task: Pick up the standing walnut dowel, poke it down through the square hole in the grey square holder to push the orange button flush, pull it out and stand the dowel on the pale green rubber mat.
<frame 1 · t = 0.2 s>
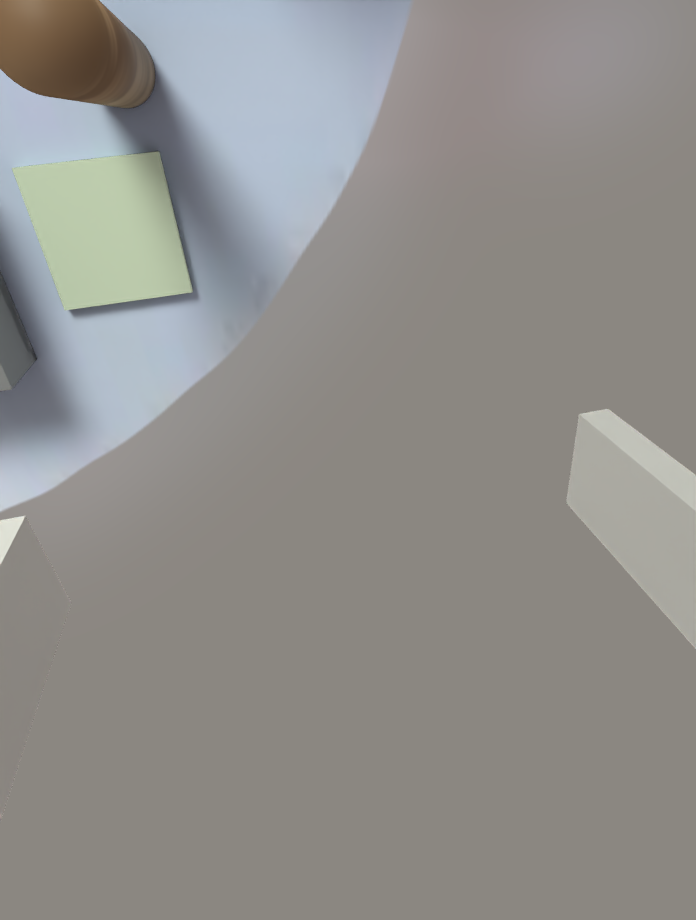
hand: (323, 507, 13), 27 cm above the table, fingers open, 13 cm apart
mat: (110, 233, 34), on the table
walnut dowel: (120, 68, 30), on the table
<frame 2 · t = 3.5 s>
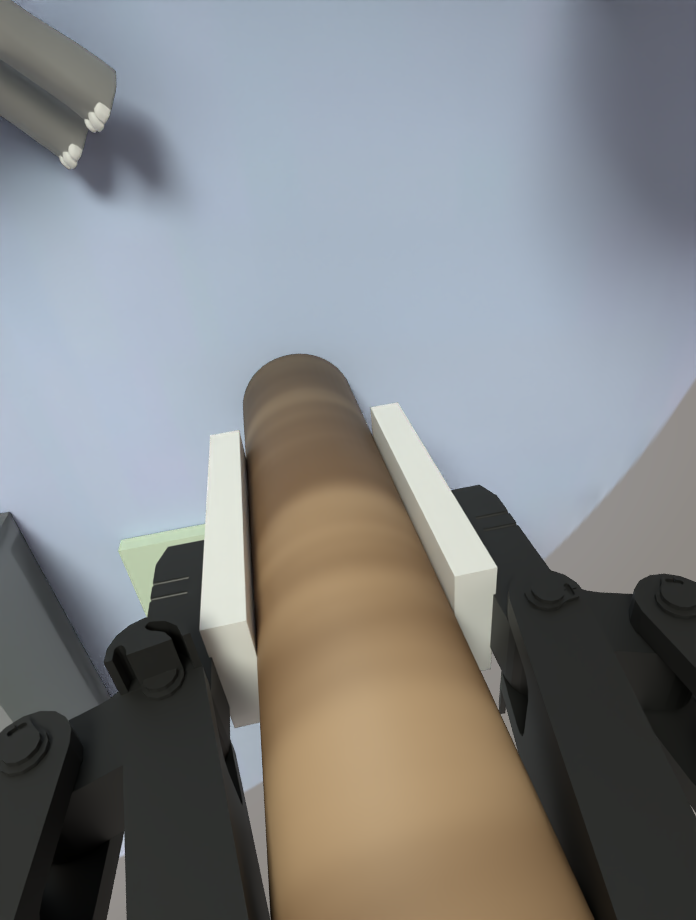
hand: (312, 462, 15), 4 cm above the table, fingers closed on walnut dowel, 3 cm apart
mat: (254, 595, 22), on the table
walnut dowel: (298, 405, 18), on the table, touching gripper
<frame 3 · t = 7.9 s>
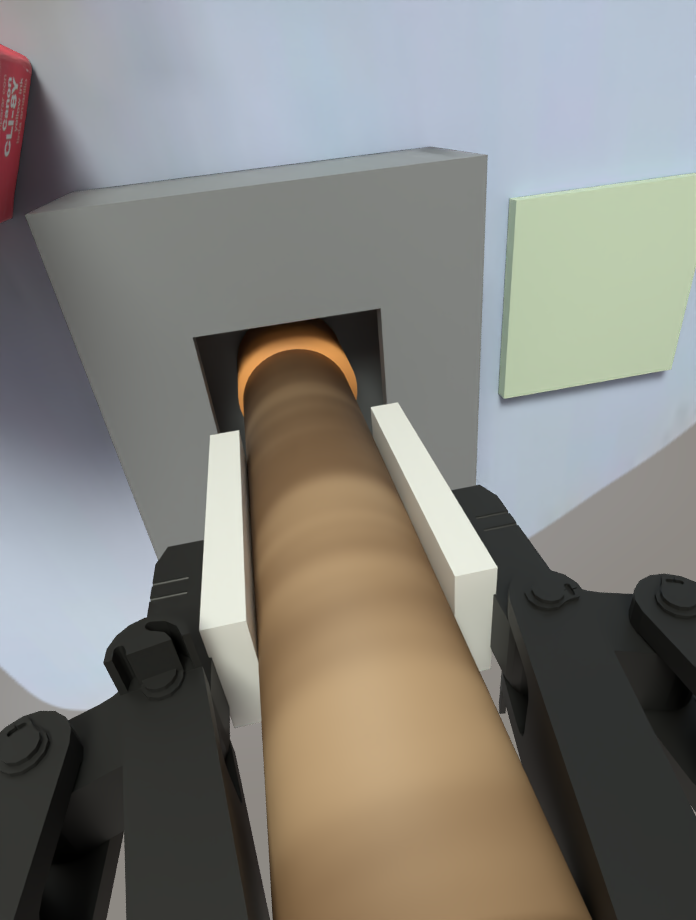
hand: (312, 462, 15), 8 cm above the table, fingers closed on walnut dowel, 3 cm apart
mat: (594, 290, 23), on the table
grey square holder: (287, 351, 22), on the table
walnut dowel: (297, 399, 19), point 4 cm above the table, touching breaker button, gripper
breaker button: (294, 377, 20), point 3 cm above the table, slide at -2.4 cm, touching walnut dowel
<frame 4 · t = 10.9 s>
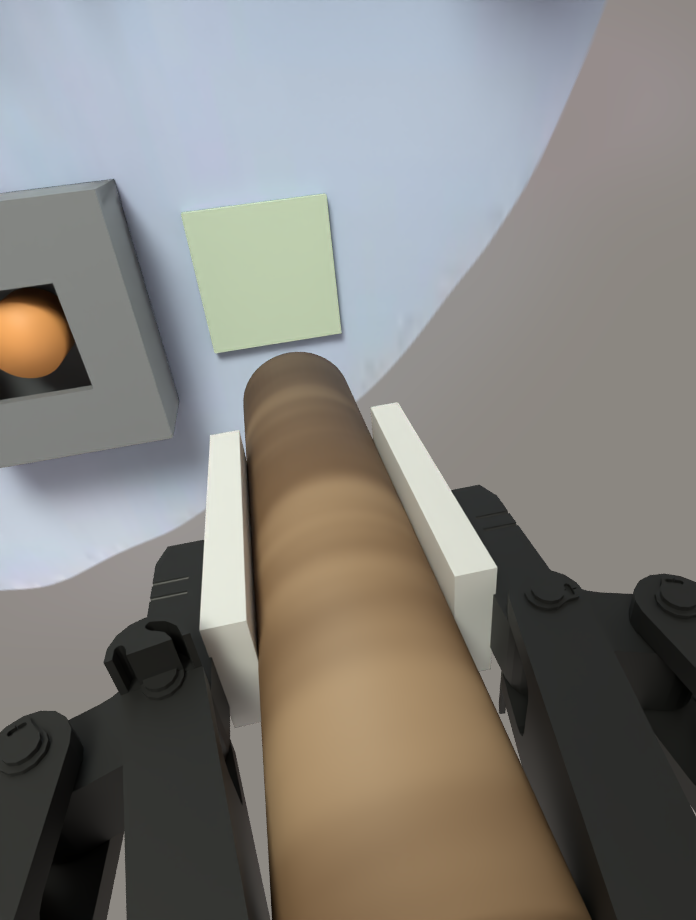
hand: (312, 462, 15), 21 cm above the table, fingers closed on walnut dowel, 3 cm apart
mat: (266, 275, 33), on the table
grey square holder: (44, 317, 32), on the table
walnut dowel: (297, 402, 19), point 17 cm above the table, touching gripper
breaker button: (30, 332, 29), point 3 cm above the table, slide at -2.4 cm
when the fingers open (5 cm above the table, at t = 13.3 s): walnut dowel stays where it is, resting on mat.
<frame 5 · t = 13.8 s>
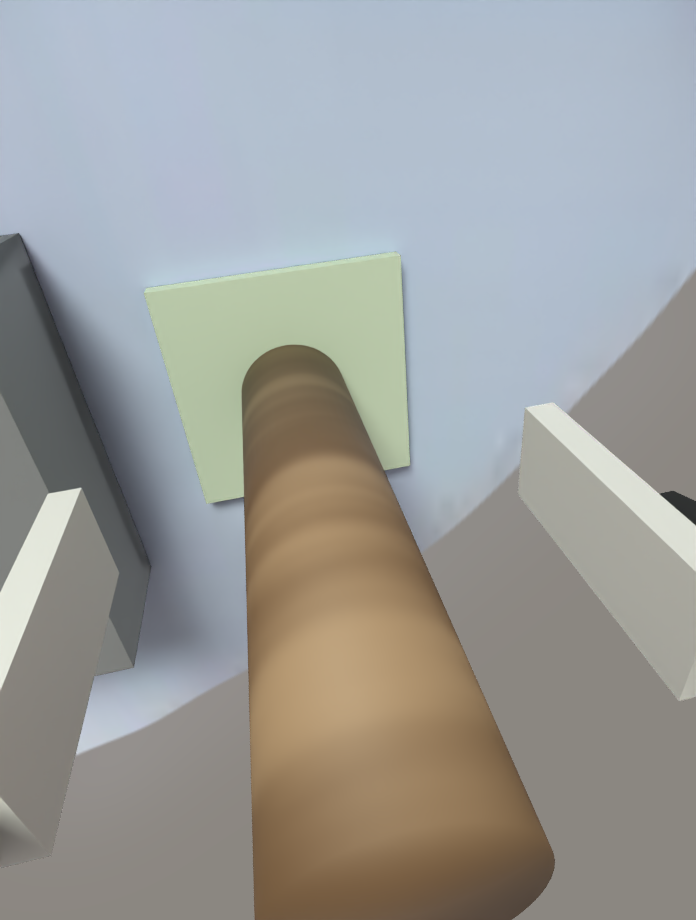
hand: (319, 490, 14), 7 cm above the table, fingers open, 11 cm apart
mat: (293, 384, 20), on the table
walnut dowel: (293, 394, 19), point 1 cm above the table, touching mat
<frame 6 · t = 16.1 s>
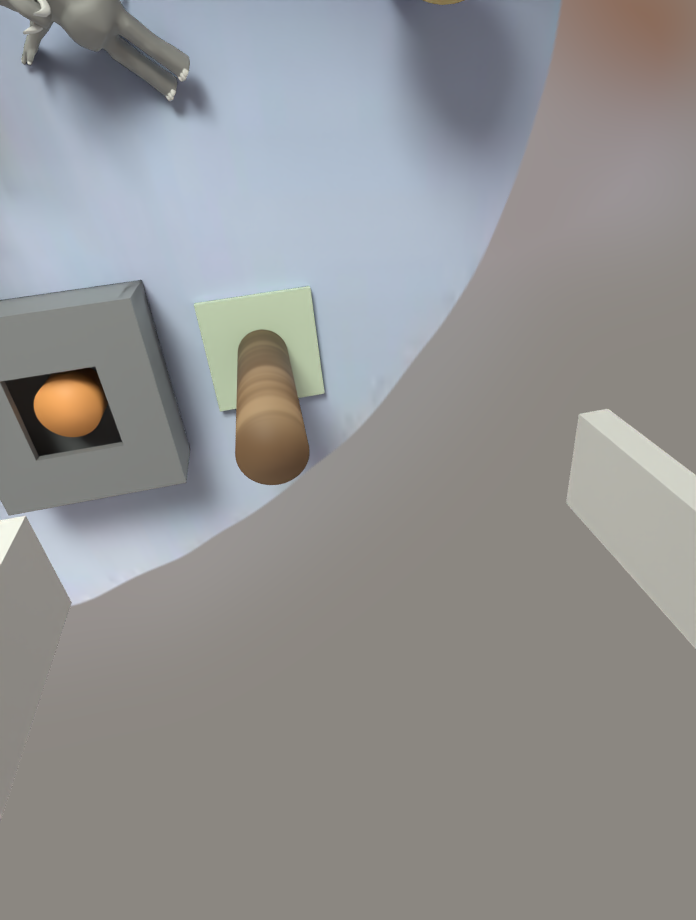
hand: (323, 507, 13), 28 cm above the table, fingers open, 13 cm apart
mat: (262, 349, 40), on the table
grey square holder: (82, 385, 39), on the table
walnut dowel: (263, 354, 40), point 1 cm above the table, touching mat
elephant figurine: (106, 16, 30), on the table
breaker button: (73, 400, 37), point 3 cm above the table, slide at -2.4 cm
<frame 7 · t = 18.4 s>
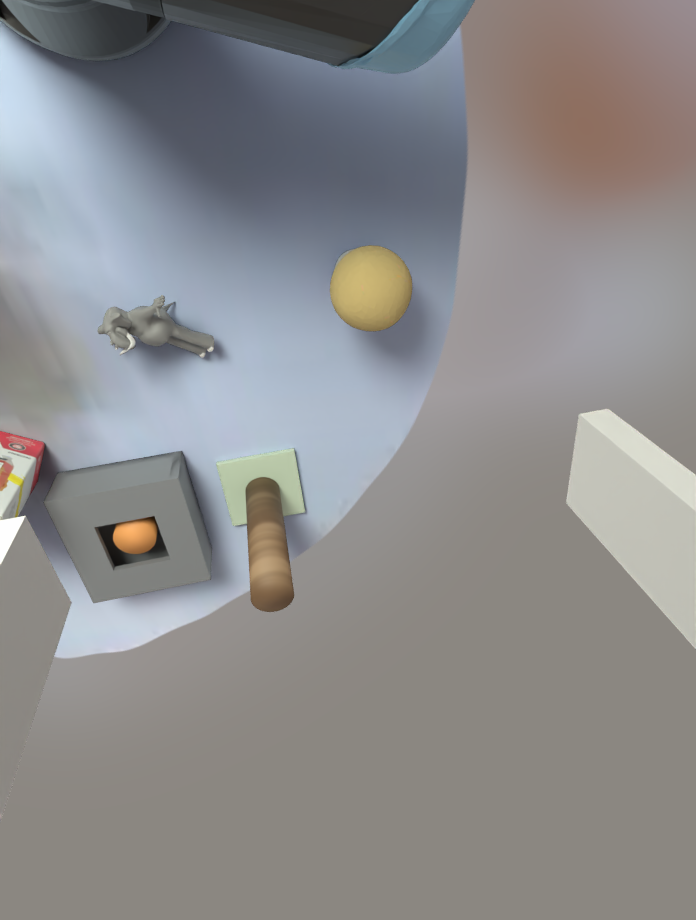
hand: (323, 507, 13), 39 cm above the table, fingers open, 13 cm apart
mat: (262, 486, 59), on the table
grey square holder: (140, 513, 58), on the table
walnut dowel: (262, 491, 58), point 1 cm above the table, touching mat
elephant figurine: (162, 313, 48), on the table
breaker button: (136, 529, 55), point 3 cm above the table, slide at -2.4 cm
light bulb: (353, 268, 49), on the table
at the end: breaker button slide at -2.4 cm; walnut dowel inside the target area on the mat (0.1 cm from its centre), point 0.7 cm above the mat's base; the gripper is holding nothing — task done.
